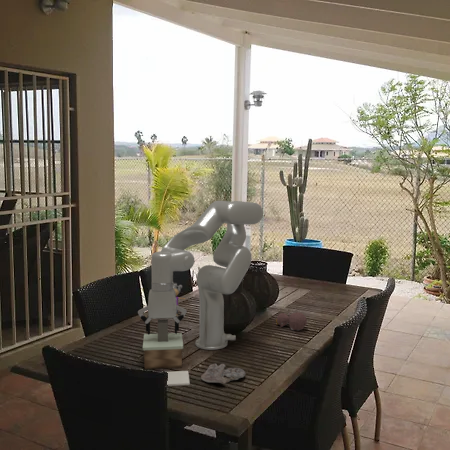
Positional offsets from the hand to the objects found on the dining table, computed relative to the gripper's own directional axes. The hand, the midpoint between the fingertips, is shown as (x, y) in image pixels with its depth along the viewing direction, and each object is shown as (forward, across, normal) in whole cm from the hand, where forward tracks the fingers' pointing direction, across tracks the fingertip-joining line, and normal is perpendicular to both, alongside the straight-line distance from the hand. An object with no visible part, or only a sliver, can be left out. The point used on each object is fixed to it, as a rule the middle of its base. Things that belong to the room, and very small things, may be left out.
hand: (162, 333), depth 191 cm
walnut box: (+11, 0, 0) cm, 11 cm away
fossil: (+11, -20, +16) cm, 28 cm away
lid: (+4, 0, 0) cm, 4 cm away
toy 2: (+10, -56, -32) cm, 65 cm away
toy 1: (+10, -6, -52) cm, 54 cm away
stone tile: (+11, -4, +16) cm, 19 cm away
